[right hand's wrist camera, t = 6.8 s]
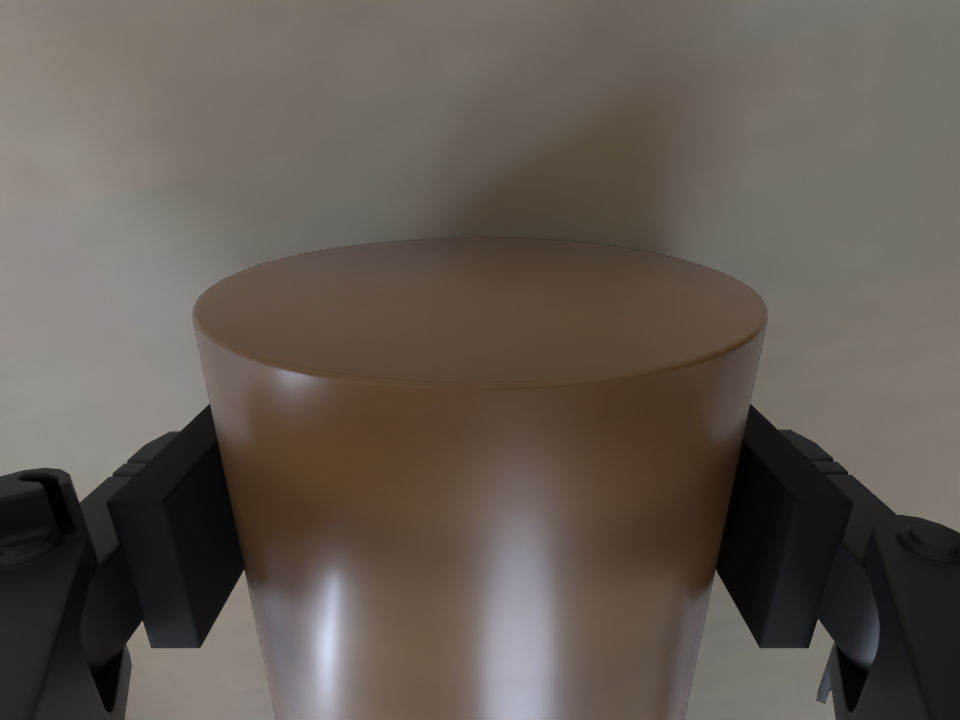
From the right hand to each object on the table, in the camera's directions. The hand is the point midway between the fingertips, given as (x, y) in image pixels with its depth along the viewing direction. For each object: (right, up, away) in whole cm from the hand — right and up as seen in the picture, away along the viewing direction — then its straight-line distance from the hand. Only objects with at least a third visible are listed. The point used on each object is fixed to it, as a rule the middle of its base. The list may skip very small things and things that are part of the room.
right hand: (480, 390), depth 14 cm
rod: (0, -8, +4) cm, 9 cm away
